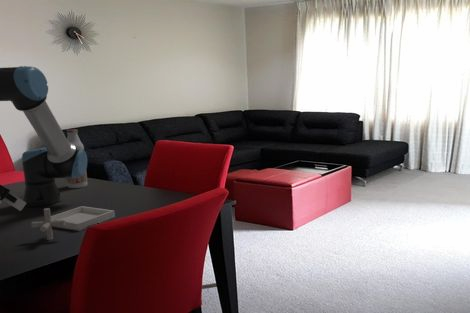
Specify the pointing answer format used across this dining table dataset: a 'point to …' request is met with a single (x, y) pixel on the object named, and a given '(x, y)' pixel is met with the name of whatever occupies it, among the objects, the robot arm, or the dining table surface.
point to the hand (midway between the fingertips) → (12, 203)
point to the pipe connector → (48, 224)
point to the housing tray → (83, 217)
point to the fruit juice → (76, 141)
